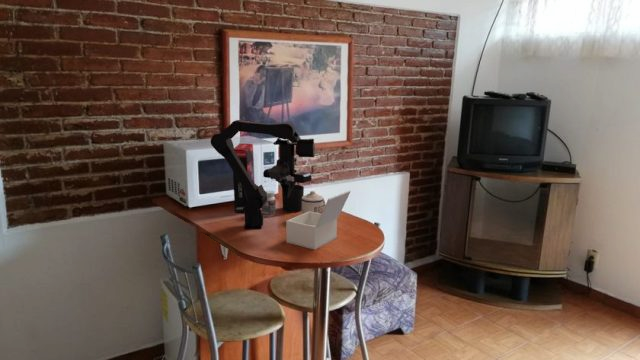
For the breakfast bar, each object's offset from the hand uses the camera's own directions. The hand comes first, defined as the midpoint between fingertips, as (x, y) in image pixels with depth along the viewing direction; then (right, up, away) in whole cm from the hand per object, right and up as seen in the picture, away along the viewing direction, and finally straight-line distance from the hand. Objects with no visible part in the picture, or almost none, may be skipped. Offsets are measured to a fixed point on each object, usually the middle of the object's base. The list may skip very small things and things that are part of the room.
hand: (287, 197), depth 181 cm
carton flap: (+17, -3, -18) cm, 25 cm away
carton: (+10, -15, -11) cm, 21 cm away
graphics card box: (-20, -6, +29) cm, 36 cm away
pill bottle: (-9, -8, +19) cm, 22 cm away
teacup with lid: (+10, -9, +15) cm, 20 cm away
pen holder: (+1, -6, +27) cm, 28 cm away
